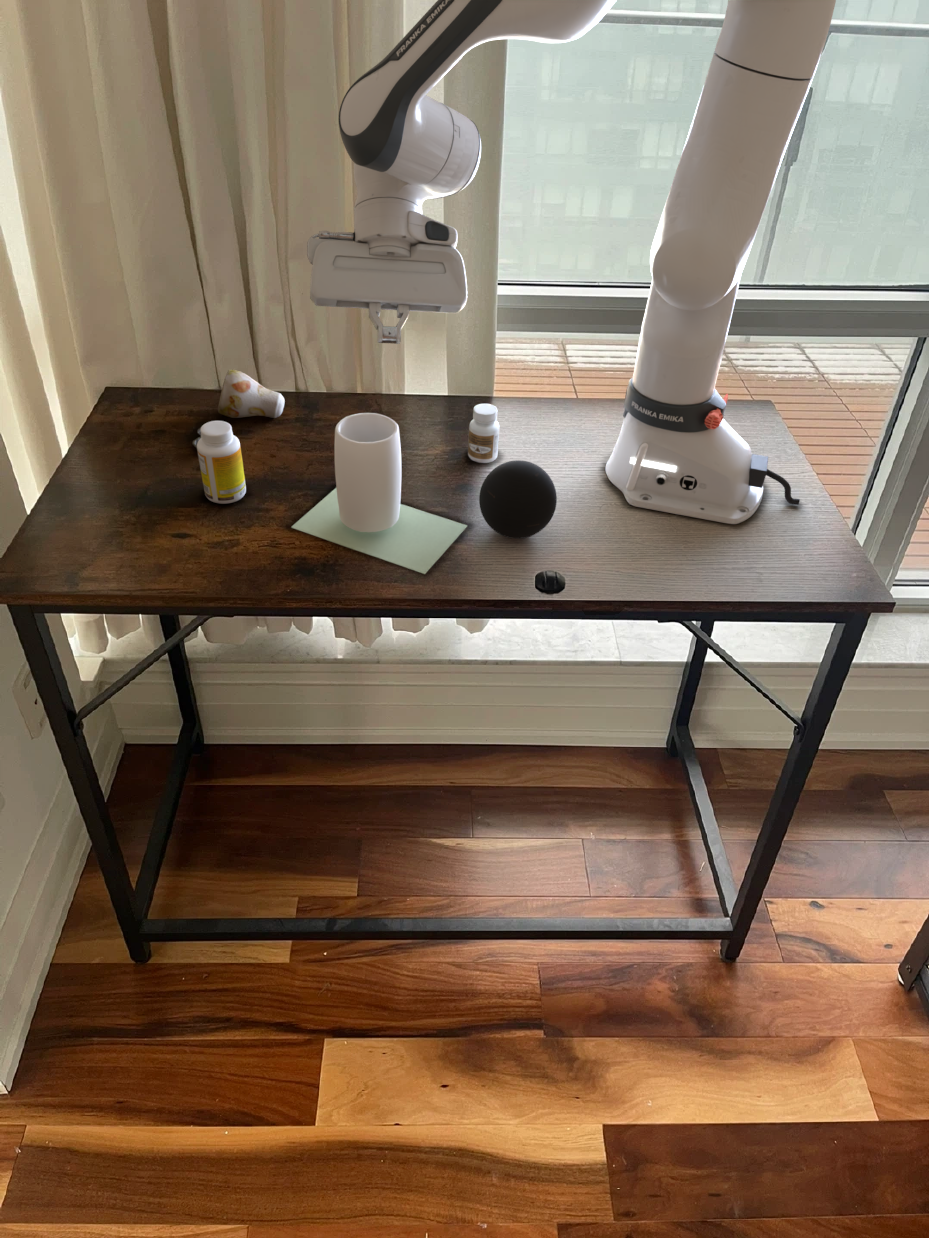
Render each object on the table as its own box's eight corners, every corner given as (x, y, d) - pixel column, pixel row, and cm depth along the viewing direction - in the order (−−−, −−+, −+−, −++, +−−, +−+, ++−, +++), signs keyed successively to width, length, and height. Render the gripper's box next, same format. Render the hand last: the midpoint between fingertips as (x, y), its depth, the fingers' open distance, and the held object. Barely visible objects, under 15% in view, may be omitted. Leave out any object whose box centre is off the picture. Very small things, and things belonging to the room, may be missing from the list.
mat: (467, 526, 125) (467, 525, 124) (424, 574, 116) (424, 573, 116) (340, 485, 131) (340, 484, 131) (290, 528, 123) (290, 527, 122)
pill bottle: (463, 460, 137) (466, 413, 132) (473, 446, 140) (475, 399, 135) (492, 466, 136) (495, 419, 131) (500, 452, 139) (504, 405, 134)
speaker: (466, 542, 121) (470, 477, 115) (491, 503, 129) (495, 439, 122) (540, 561, 119) (548, 495, 113) (561, 519, 126) (569, 455, 120)
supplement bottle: (254, 489, 129) (246, 423, 122) (232, 509, 125) (222, 442, 118) (219, 479, 130) (210, 413, 124) (196, 499, 126) (185, 432, 120)
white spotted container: (288, 429, 142) (248, 381, 135) (237, 445, 146) (196, 400, 139) (297, 395, 146) (259, 347, 139) (247, 412, 150) (208, 366, 143)
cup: (392, 545, 120) (391, 449, 111) (329, 536, 121) (323, 440, 112) (408, 509, 127) (408, 415, 117) (348, 500, 128) (344, 407, 118)
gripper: (307, 219, 116) (307, 330, 116) (469, 230, 119) (470, 338, 119) (306, 239, 122) (307, 345, 122) (460, 250, 126) (461, 352, 126)
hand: (389, 342), depth 121 cm, fingers closed
